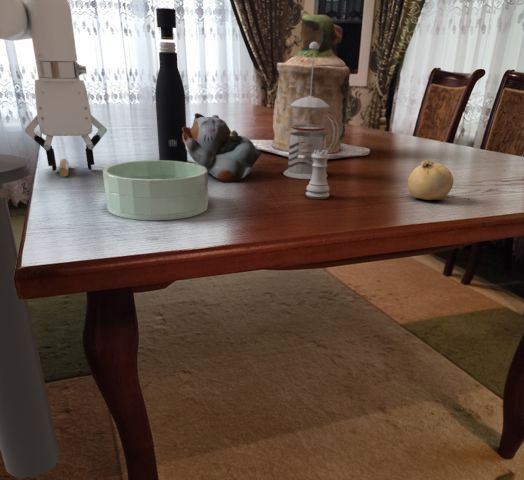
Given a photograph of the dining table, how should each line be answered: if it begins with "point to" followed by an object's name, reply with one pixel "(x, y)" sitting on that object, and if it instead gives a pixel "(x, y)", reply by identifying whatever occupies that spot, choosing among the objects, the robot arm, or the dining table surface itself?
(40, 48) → the robot arm
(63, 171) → the stick
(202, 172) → the bowl
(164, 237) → the dining table surface
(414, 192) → the onion
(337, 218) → the dining table surface
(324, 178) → the rook chess piece
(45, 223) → the dining table surface
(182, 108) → the black water bottle
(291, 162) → the french press
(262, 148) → the cookie jar
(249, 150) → the lucky cat figurine
